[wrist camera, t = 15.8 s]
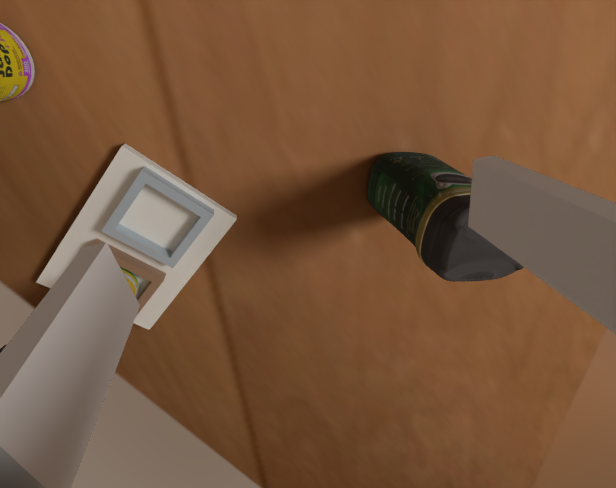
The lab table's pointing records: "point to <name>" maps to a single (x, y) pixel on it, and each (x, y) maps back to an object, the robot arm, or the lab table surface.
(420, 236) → the coffee jar
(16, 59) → the supplement bottle
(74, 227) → the socket board
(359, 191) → the lab table surface
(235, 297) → the lab table surface
